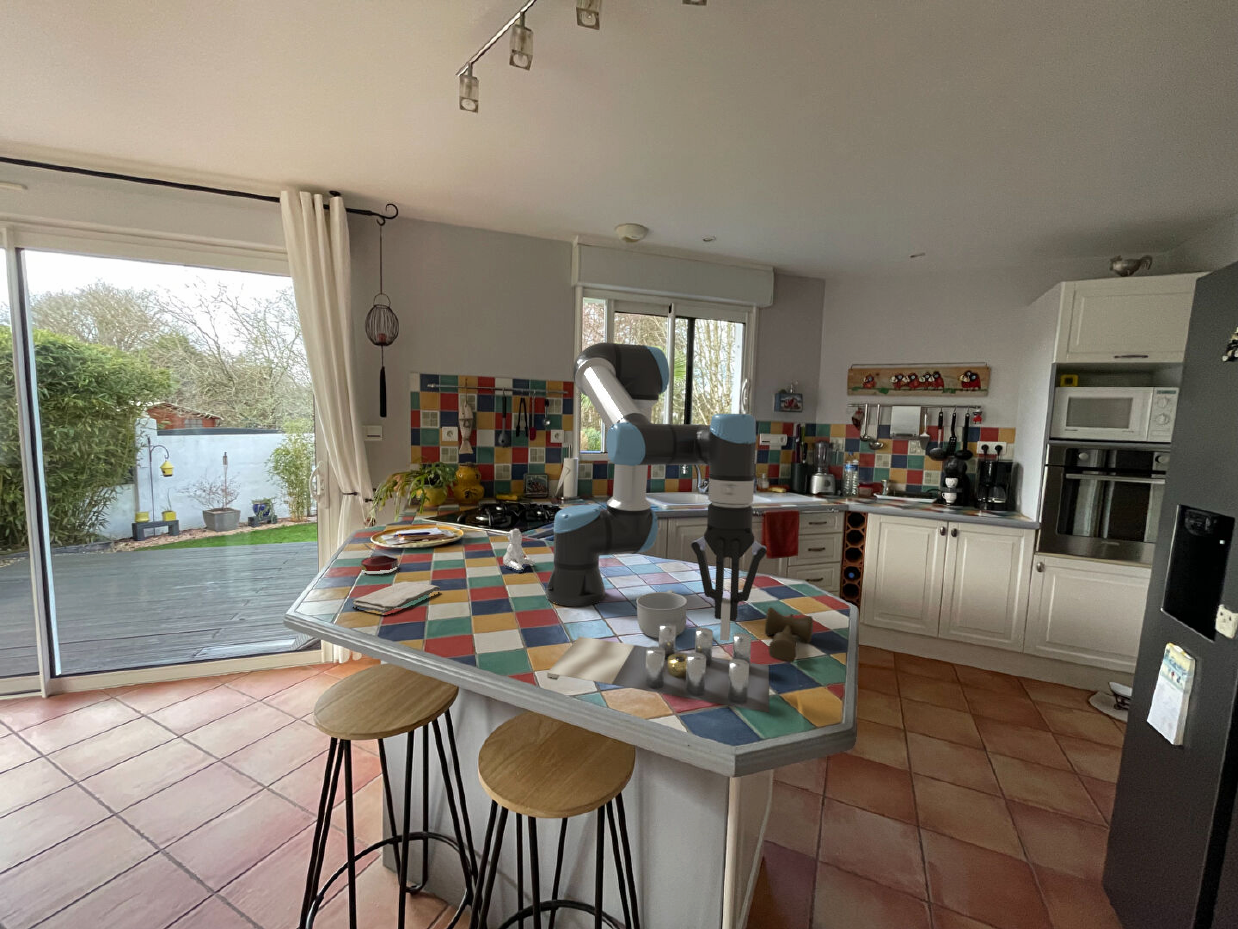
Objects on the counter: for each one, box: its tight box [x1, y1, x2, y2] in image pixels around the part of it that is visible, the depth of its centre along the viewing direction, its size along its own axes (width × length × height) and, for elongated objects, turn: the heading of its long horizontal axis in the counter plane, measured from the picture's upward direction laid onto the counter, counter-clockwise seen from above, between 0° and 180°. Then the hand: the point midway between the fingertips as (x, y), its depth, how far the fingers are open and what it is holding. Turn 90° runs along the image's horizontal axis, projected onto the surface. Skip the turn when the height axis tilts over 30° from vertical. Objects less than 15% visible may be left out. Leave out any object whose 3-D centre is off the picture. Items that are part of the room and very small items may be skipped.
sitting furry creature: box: [502, 528, 536, 570], centre depth 155 cm, size 10×9×12 cm
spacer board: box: [546, 636, 770, 713], centre depth 93 cm, size 38×16×1 cm, turn 74°
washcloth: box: [352, 580, 441, 613], centre depth 126 cm, size 12×18×3 cm, turn 159°
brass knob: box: [668, 654, 687, 678], centre depth 92 cm, size 4×4×2 cm
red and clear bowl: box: [360, 542, 399, 571], centre depth 150 cm, size 11×10×10 cm
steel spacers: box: [645, 623, 752, 704], centre depth 91 cm, size 17×14×6 cm
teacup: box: [635, 589, 688, 640], centre depth 111 cm, size 14×11×8 cm
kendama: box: [764, 606, 814, 662], centre depth 107 cm, size 6×10×20 cm
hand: (725, 637), depth 89 cm, fingers closed
